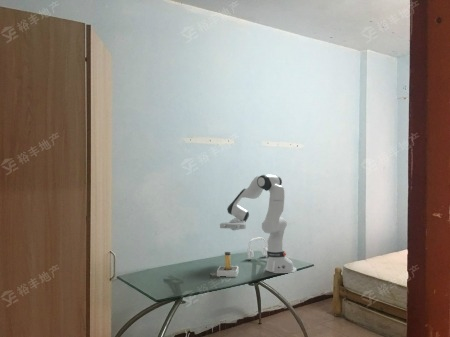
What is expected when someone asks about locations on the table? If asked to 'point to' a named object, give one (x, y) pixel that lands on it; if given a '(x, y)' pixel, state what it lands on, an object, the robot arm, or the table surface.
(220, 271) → the walled box
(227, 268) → the cylinder
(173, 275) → the table surface
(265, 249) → the headset
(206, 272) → the table surface
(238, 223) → the robot arm
